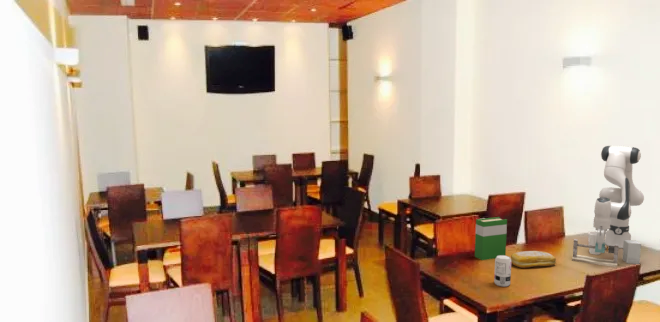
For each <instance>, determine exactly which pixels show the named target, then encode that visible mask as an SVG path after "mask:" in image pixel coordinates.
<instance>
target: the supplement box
mask: <svg viewBox="0 0 660 322" xmlns="http://www.w3.org/2000/svg"><path fill="white" fill-rule="evenodd" d="M641 248H642V243H641V242H639V241H637V240H632V239H631V240H624V244H623V248H622V261H624V263H626V264H634V265H640V261H641V251H642V250H641Z"/></svg>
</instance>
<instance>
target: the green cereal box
mask: <svg viewBox="0 0 660 322" xmlns="http://www.w3.org/2000/svg"><path fill="white" fill-rule="evenodd" d="M507 227H508V219H506V218H505V219H502V218H501V216H497V217H488V218H487V217H486V218H485V217H484V218H479V219H475V233H474V234H475V236H474V237H475V240H474V257H475V258H476V259H479V260H481V261H487V260H493V259H494V260H495V259H496V257H497V256H498V255H505V256H507V255H506V253H507V252H506V251H507V249H506V248H507V232H508V231H507V230H508V229H507Z"/></svg>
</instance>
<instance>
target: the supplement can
mask: <svg viewBox="0 0 660 322" xmlns="http://www.w3.org/2000/svg"><path fill="white" fill-rule="evenodd" d="M493 275H494V278H493V282H494V284H495V285H496V286H497V287H503V288H504V287H505V288H507V287H509V286H510V285H511V278H512V277H511V276H512V262H511V256H508V255H498V256H497V257H496V258H495V259H494V274H493Z"/></svg>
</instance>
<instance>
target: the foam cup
mask: <svg viewBox="0 0 660 322" xmlns="http://www.w3.org/2000/svg"><path fill="white" fill-rule="evenodd" d="M587 239H588V240H587V241H588V245H592V246H595V244H596V240H597V231H593V230H592V231H588V232H587ZM588 250H589V254H591V255H597V256H599V255H601V253H600V252H595V249H594V248H588Z"/></svg>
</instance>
